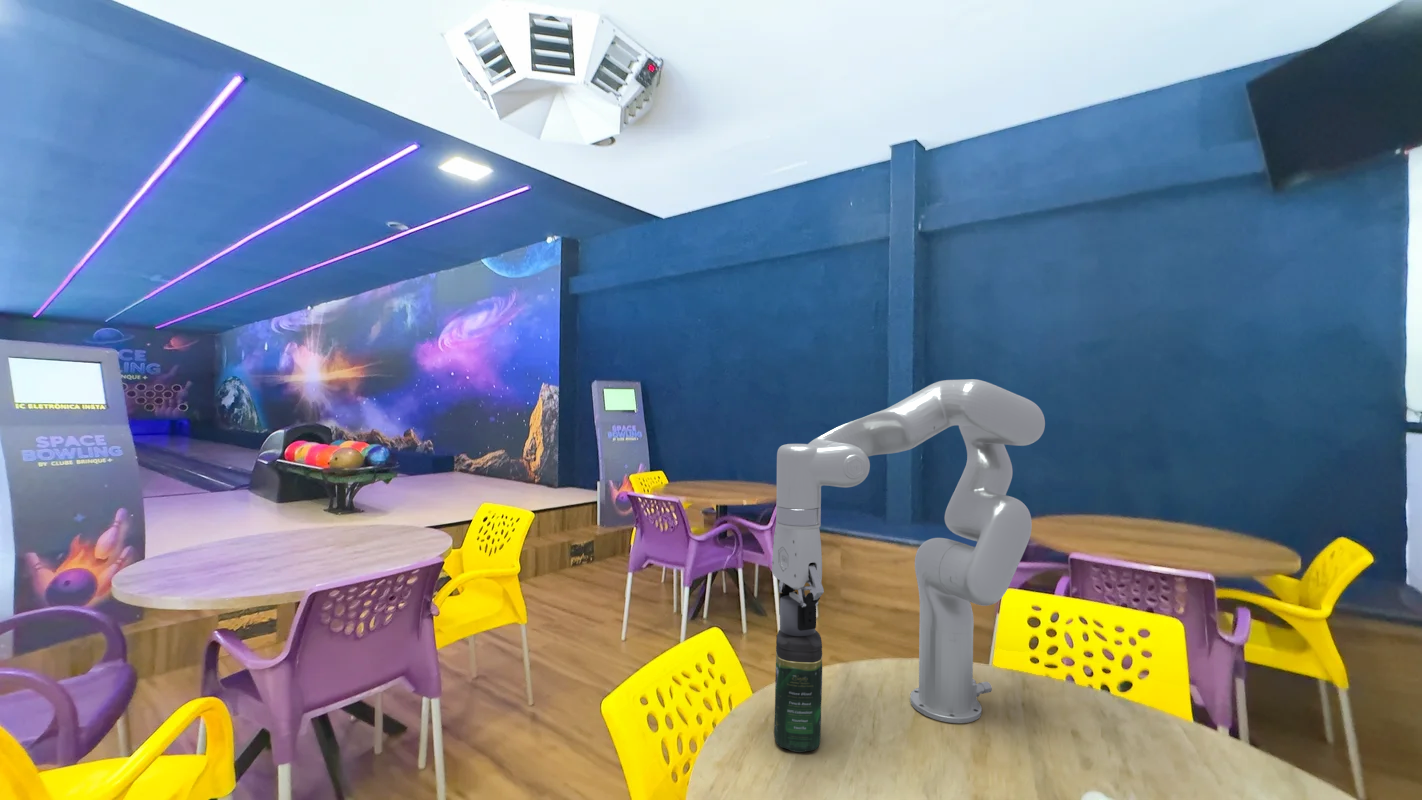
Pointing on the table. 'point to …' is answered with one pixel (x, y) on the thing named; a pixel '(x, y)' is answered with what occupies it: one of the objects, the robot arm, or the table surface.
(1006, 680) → the table surface
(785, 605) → the lid
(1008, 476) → the robot arm
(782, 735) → the coffee jar
